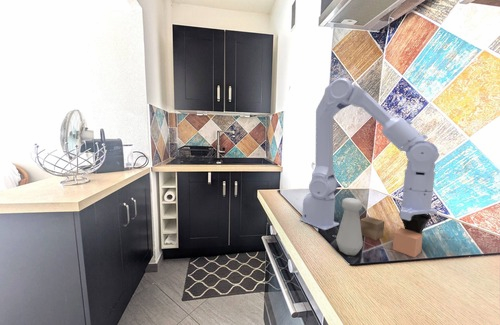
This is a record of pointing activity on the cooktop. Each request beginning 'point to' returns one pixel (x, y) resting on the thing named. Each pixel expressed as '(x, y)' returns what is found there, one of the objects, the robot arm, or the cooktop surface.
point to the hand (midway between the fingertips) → (412, 241)
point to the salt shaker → (350, 228)
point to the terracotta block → (407, 242)
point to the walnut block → (372, 227)
